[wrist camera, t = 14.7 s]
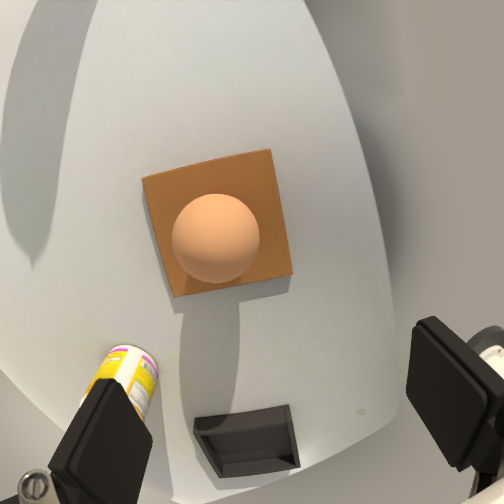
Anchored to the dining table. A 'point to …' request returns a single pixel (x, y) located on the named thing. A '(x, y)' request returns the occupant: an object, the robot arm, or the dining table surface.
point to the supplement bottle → (130, 375)
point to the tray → (249, 442)
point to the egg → (215, 238)
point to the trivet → (228, 183)
